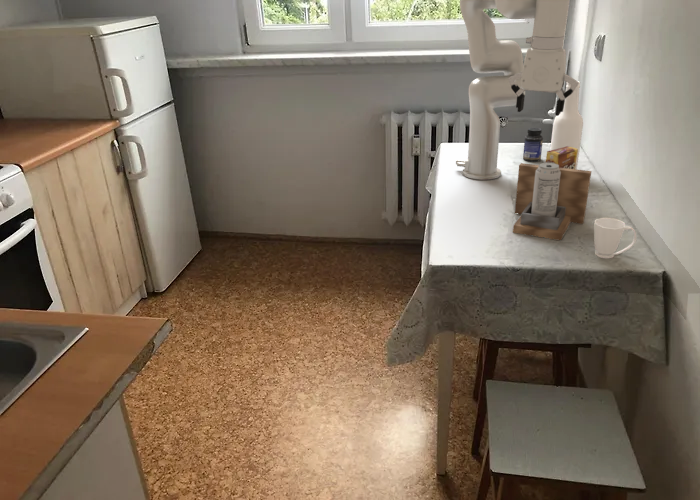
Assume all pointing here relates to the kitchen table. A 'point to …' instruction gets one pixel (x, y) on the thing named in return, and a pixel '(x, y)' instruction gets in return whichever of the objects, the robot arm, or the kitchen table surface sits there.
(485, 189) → the kitchen table surface
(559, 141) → the alcohol
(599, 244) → the cup
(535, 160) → the pill bottle
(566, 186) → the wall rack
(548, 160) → the candy box
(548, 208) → the energy drink can
